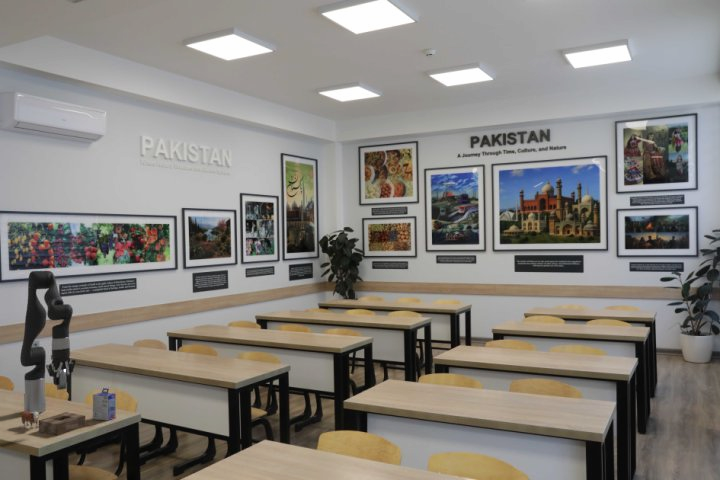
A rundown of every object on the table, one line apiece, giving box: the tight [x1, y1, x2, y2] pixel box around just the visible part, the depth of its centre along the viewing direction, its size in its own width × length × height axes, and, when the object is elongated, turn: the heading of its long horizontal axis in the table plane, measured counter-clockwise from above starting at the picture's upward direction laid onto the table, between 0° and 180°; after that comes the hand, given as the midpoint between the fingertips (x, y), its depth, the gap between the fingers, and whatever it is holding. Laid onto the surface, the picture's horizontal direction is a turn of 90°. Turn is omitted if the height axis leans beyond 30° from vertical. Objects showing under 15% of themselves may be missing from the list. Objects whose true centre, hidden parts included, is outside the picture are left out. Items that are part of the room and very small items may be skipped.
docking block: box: [38, 411, 87, 436], centre depth 268 cm, size 14×14×5 cm
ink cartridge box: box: [92, 387, 117, 422], centre depth 282 cm, size 10×6×14 cm, turn 72°
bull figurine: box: [20, 410, 42, 429], centre depth 271 cm, size 4×13×8 cm, turn 58°
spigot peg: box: [56, 368, 68, 391], centre depth 268 cm, size 4×4×9 cm
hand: (61, 383), depth 268 cm, fingers closed on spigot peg, 4 cm apart
